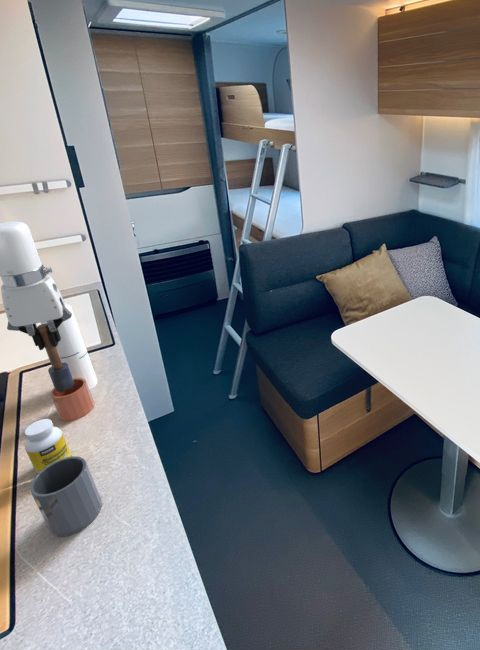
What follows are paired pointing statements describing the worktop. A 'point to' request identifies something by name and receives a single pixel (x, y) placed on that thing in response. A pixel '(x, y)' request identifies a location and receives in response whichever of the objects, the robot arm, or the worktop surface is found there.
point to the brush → (56, 363)
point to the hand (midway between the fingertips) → (49, 345)
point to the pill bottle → (45, 444)
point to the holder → (73, 401)
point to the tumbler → (66, 496)
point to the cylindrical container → (75, 350)
